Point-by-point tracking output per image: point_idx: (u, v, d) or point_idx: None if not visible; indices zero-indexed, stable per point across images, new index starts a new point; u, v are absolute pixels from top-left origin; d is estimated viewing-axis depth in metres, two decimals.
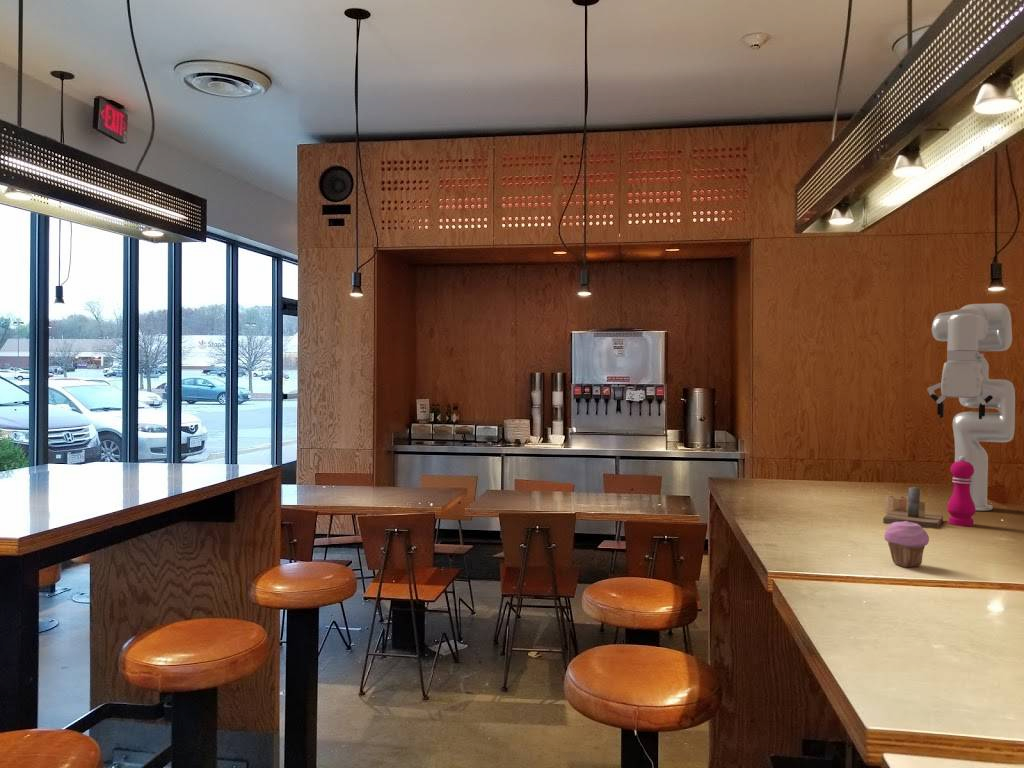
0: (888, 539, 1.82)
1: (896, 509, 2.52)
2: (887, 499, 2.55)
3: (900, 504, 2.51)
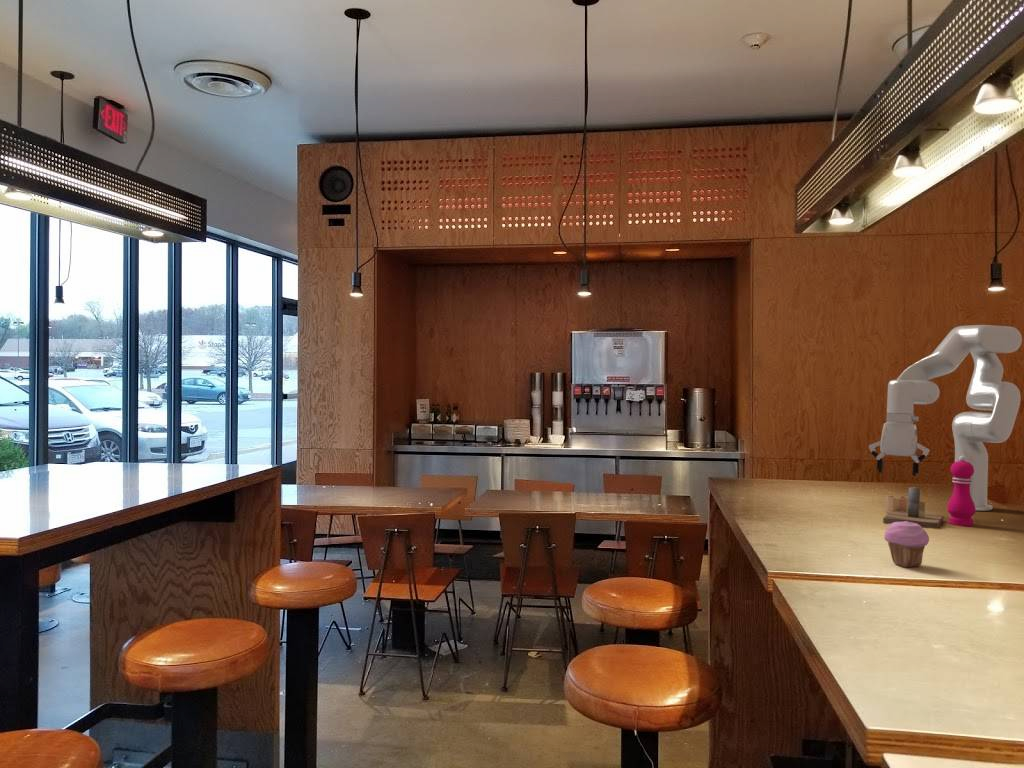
0: (888, 539, 1.82)
1: (896, 509, 2.52)
2: (887, 499, 2.55)
3: (900, 504, 2.51)
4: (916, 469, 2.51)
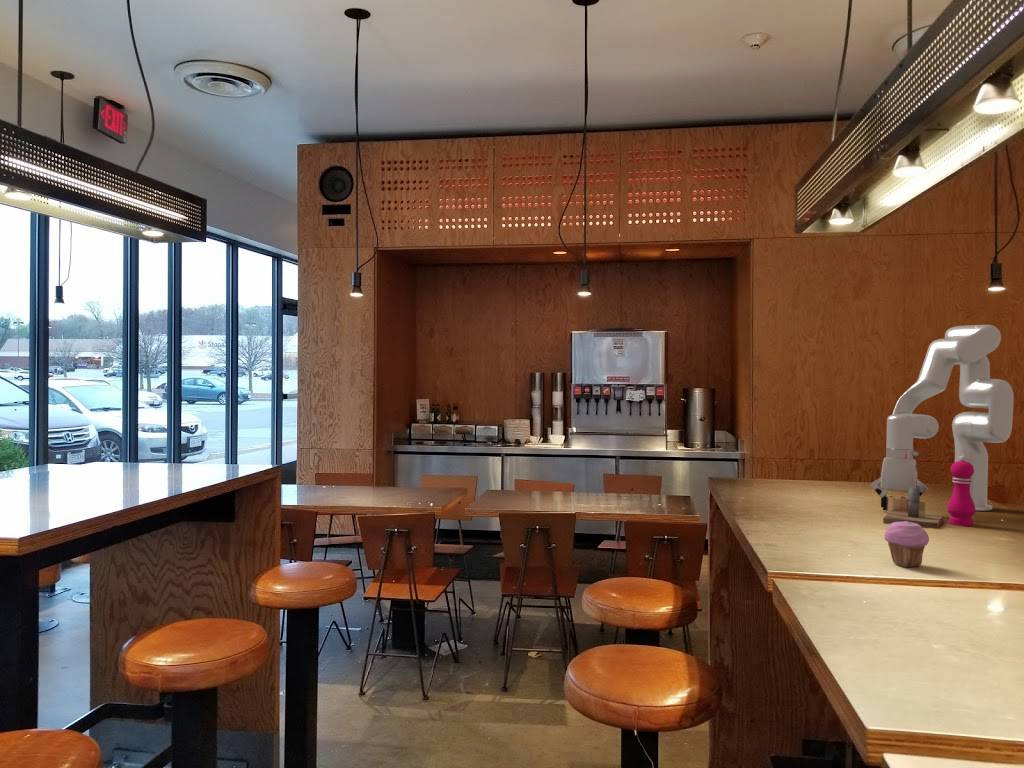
0: (888, 539, 1.82)
1: (896, 509, 2.52)
2: (887, 499, 2.55)
3: (900, 504, 2.51)
4: None
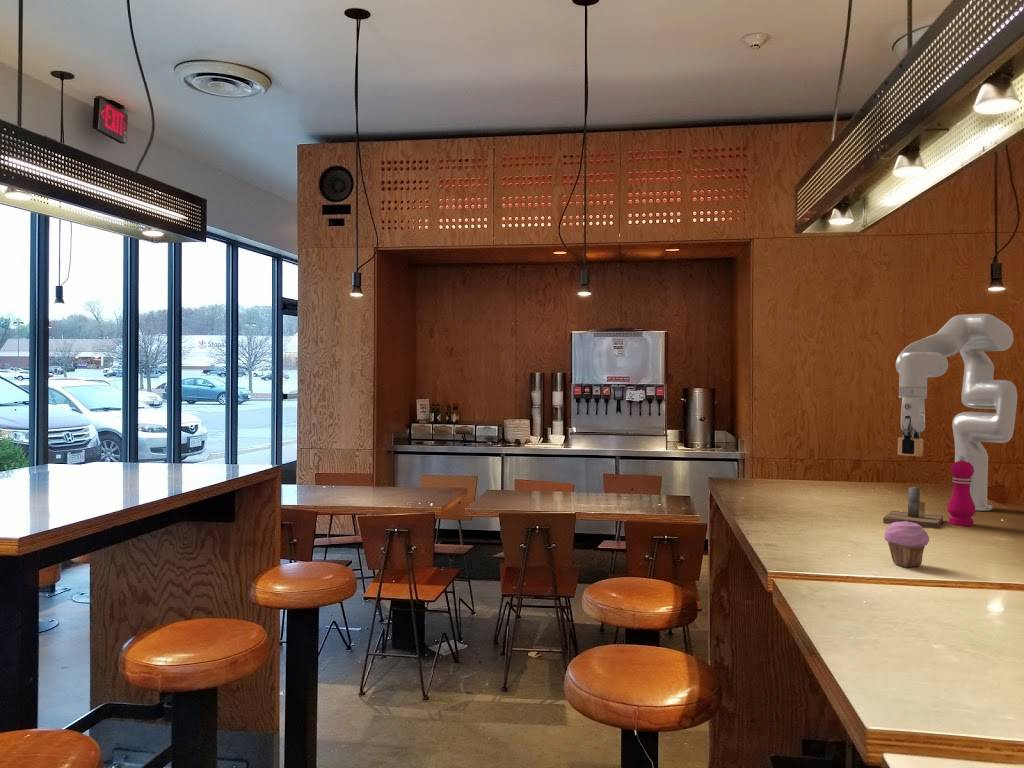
0: (888, 539, 1.82)
1: None
2: None
3: None
4: (904, 446, 2.40)
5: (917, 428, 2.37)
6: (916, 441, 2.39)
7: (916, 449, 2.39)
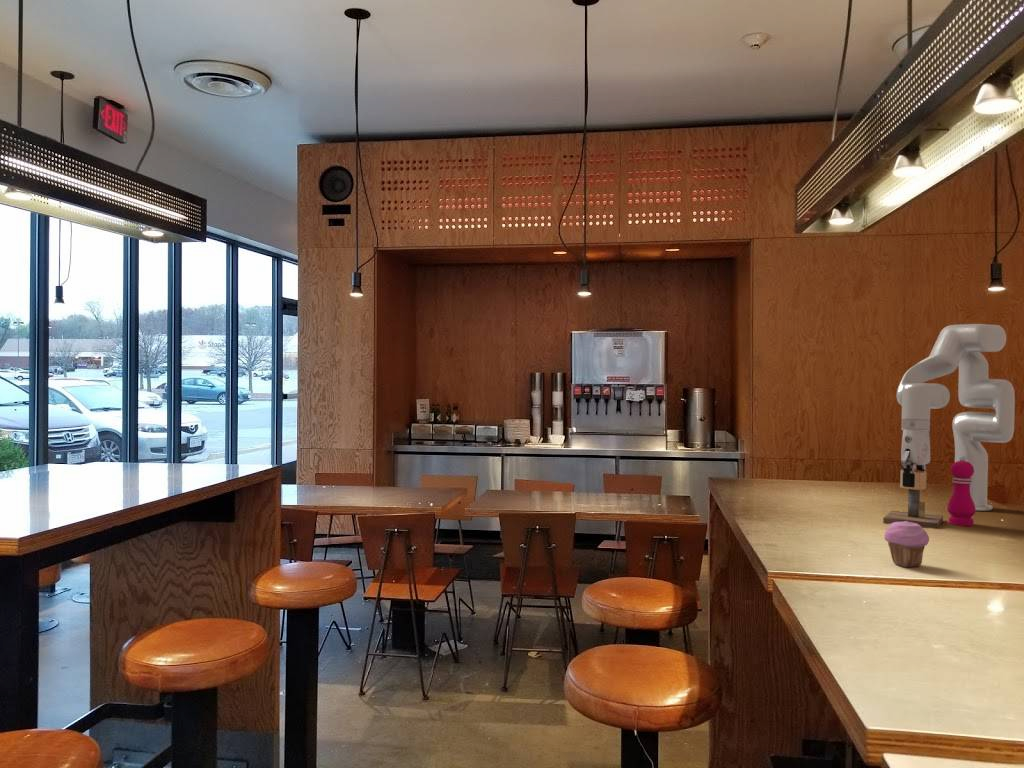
0: (888, 539, 1.82)
1: None
2: None
3: None
4: None
5: (917, 461, 2.35)
6: (917, 474, 2.36)
7: (917, 482, 2.36)
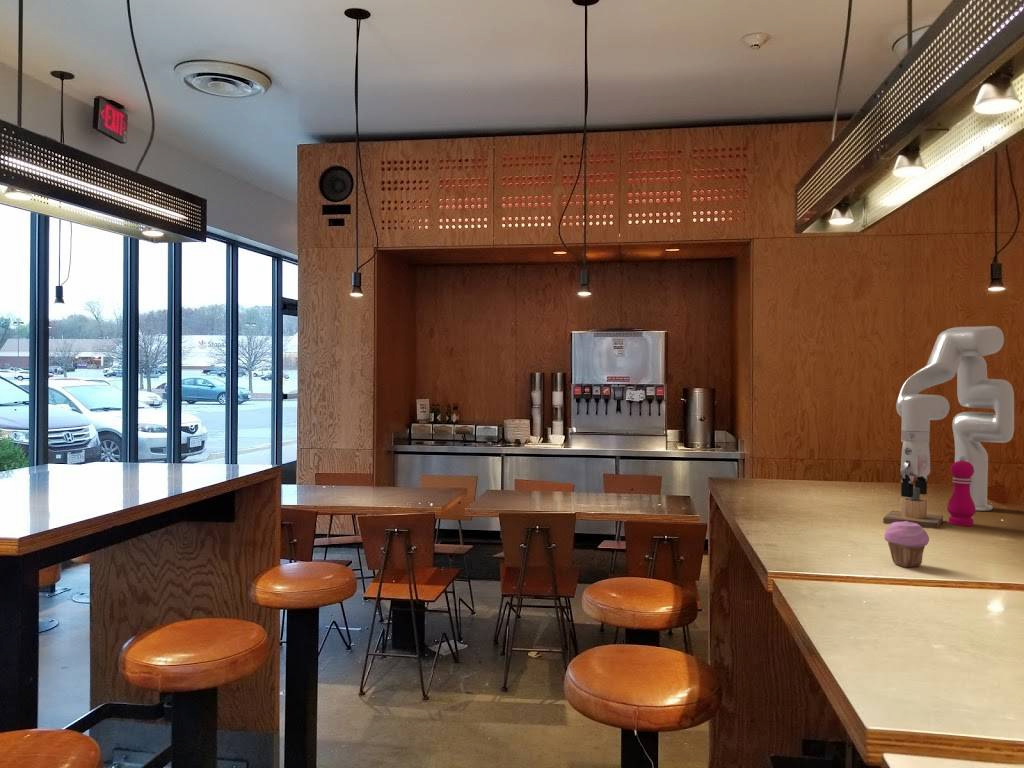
0: (888, 539, 1.82)
1: None
2: None
3: None
4: (903, 489, 2.37)
5: (917, 473, 2.35)
6: (917, 503, 2.36)
7: (917, 511, 2.36)
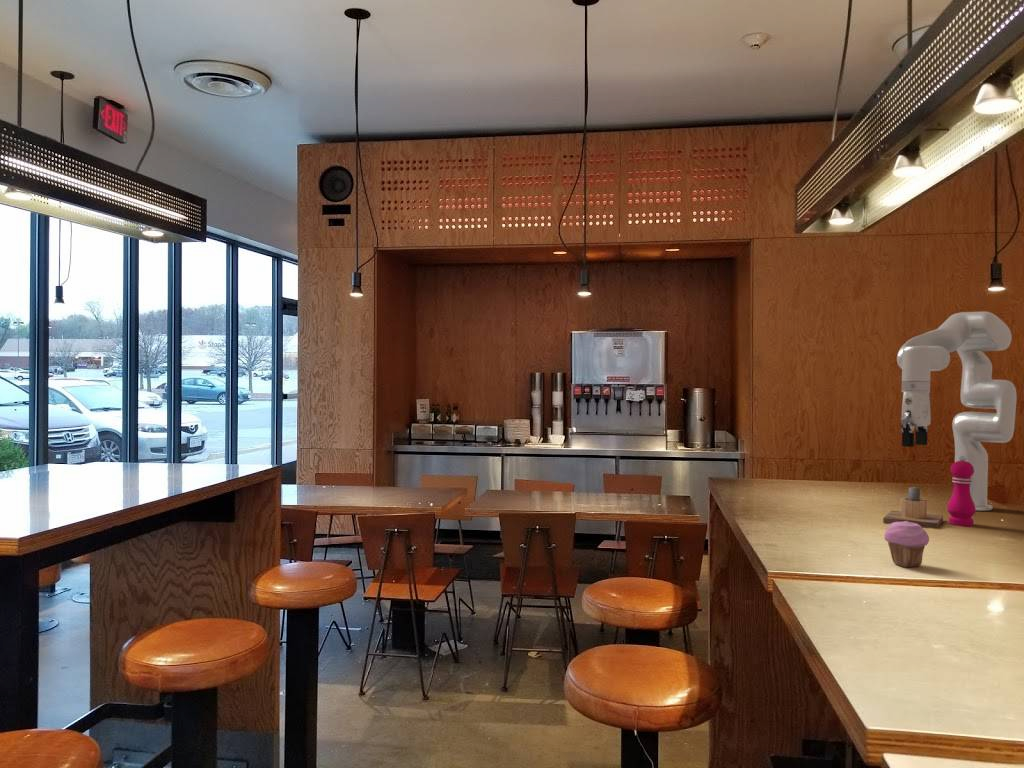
0: (888, 539, 1.82)
1: None
2: None
3: None
4: (904, 439, 2.37)
5: (917, 423, 2.35)
6: (917, 503, 2.36)
7: (917, 511, 2.36)
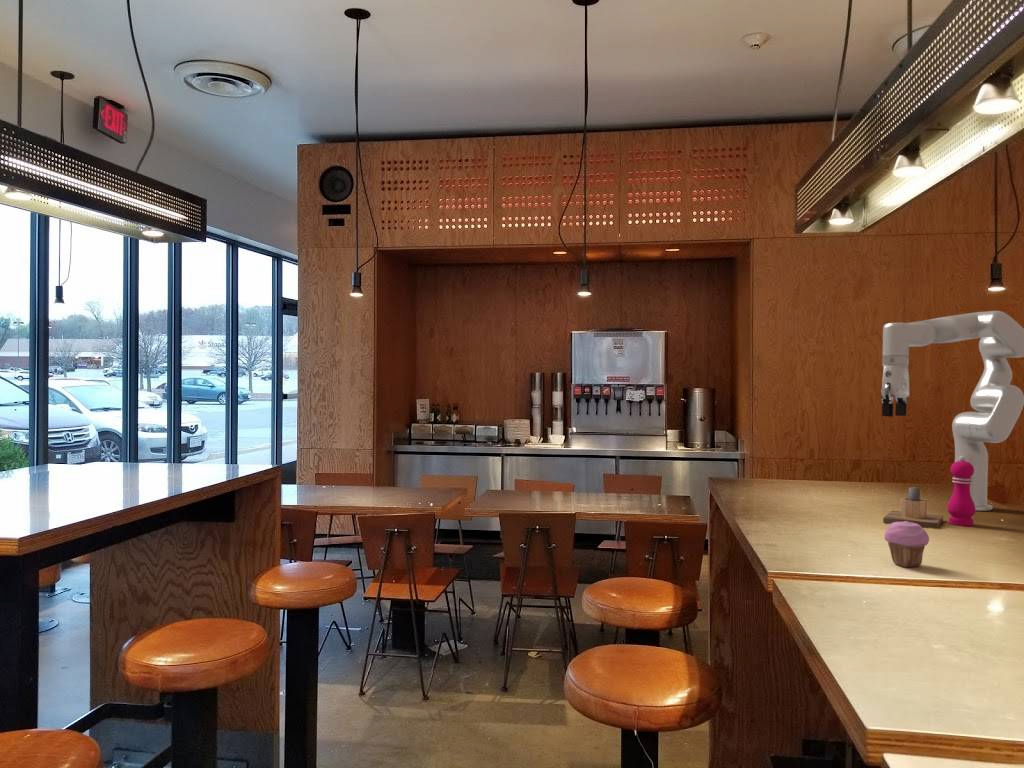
0: (888, 539, 1.82)
1: None
2: None
3: None
4: (884, 409, 2.54)
5: (896, 394, 2.52)
6: (917, 503, 2.36)
7: (917, 511, 2.36)
